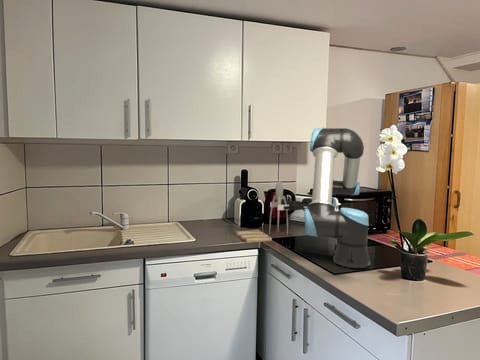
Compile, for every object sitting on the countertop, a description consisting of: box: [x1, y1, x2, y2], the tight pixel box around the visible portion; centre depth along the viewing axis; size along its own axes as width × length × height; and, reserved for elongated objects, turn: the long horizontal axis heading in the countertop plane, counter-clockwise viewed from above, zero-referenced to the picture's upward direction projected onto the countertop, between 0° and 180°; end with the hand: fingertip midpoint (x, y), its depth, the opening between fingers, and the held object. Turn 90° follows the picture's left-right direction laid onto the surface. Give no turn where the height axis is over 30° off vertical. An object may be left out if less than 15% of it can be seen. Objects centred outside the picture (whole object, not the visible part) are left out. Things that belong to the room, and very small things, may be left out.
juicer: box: [268, 180, 289, 236], centre depth 192 cm, size 10×9×30 cm
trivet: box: [234, 229, 273, 244], centre depth 188 cm, size 18×14×2 cm
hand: (274, 206), depth 190 cm, fingers closed on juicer, 8 cm apart
